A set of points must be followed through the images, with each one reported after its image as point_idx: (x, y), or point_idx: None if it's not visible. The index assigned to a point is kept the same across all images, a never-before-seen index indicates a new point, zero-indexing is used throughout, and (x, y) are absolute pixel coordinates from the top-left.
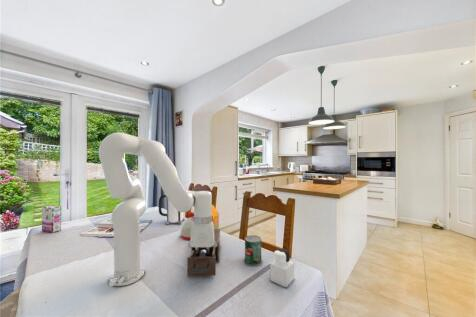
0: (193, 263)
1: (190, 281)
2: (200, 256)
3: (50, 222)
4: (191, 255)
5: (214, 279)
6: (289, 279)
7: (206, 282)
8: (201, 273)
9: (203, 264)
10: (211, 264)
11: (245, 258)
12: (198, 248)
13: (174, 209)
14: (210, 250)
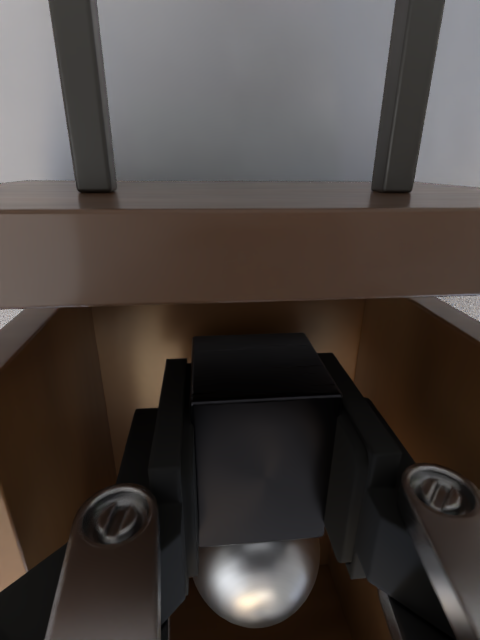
0: (433, 193)
1: (356, 117)
2: (303, 419)
3: None
4: None
5: (44, 144)
6: None
7: (143, 76)
8: (231, 182)
9: (203, 191)
10: (15, 193)
11: None
12: (404, 621)
13: None
14: (42, 574)
